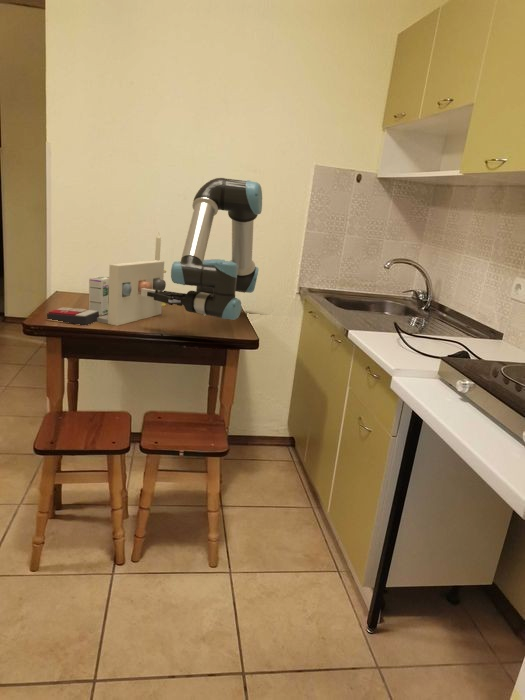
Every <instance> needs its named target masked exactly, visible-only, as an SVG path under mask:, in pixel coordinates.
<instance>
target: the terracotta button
mask: <svg viewBox="0 0 525 700" xmlns="http://www.w3.org/2000/svg"><path fill="white" fill-rule="evenodd" d="M141 288H145V289H151V290H152V285H151V283H150V282H144V281H139V283H138V292H141Z"/></svg>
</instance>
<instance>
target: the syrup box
mask: <svg viewBox="0 0 525 700" xmlns="http://www.w3.org/2000/svg"><path fill="white" fill-rule="evenodd" d="M107 277H108V276H100V275H99V276H97V275H96V276H92V277H89V278H88V281H89V282H88V286H89V287H88V310H93V311H97V312H99V316H100V317H102V316H105V315H108V304H109V278H107Z"/></svg>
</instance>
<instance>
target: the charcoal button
mask: <svg viewBox="0 0 525 700" xmlns="http://www.w3.org/2000/svg"><path fill="white" fill-rule="evenodd" d="M166 285H167V284H166V280H164V279H163V280H160V279H153V289H154V290H160V291H163V292H164V291H165V289H166Z"/></svg>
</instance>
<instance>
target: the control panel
mask: <svg viewBox="0 0 525 700" xmlns="http://www.w3.org/2000/svg"><path fill="white" fill-rule="evenodd" d="M108 270H109V273H108V277H109V304H108V313H107V314H105V315H102V316H99V317H97V321H96V322H98V323H102V324H107V325H111V326H115V327H117V326H121V325H126V324H128V323H133V322H136V321H140V320H143V319H146V318H147V319H148V318H152V317H155V316H158V315H162V311H163V310H162V308H163V306H162V302H160V301H156V300H154V298H149V297H144V296H141V292H138V283H139V281H144V282H150V283H151V285H152V290H154V289H153V279H160V280H164V277H165V276H164V274H165V273H164V270H165V261H162V260H160V261H158V260H155V259H154V260H144V261H143V260H142V261H133V262H123V263H110V264H109V269H108ZM122 283H126V284H130V285H131V293H130V295H128V296H126V295H122ZM158 291H160V290H158Z"/></svg>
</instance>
